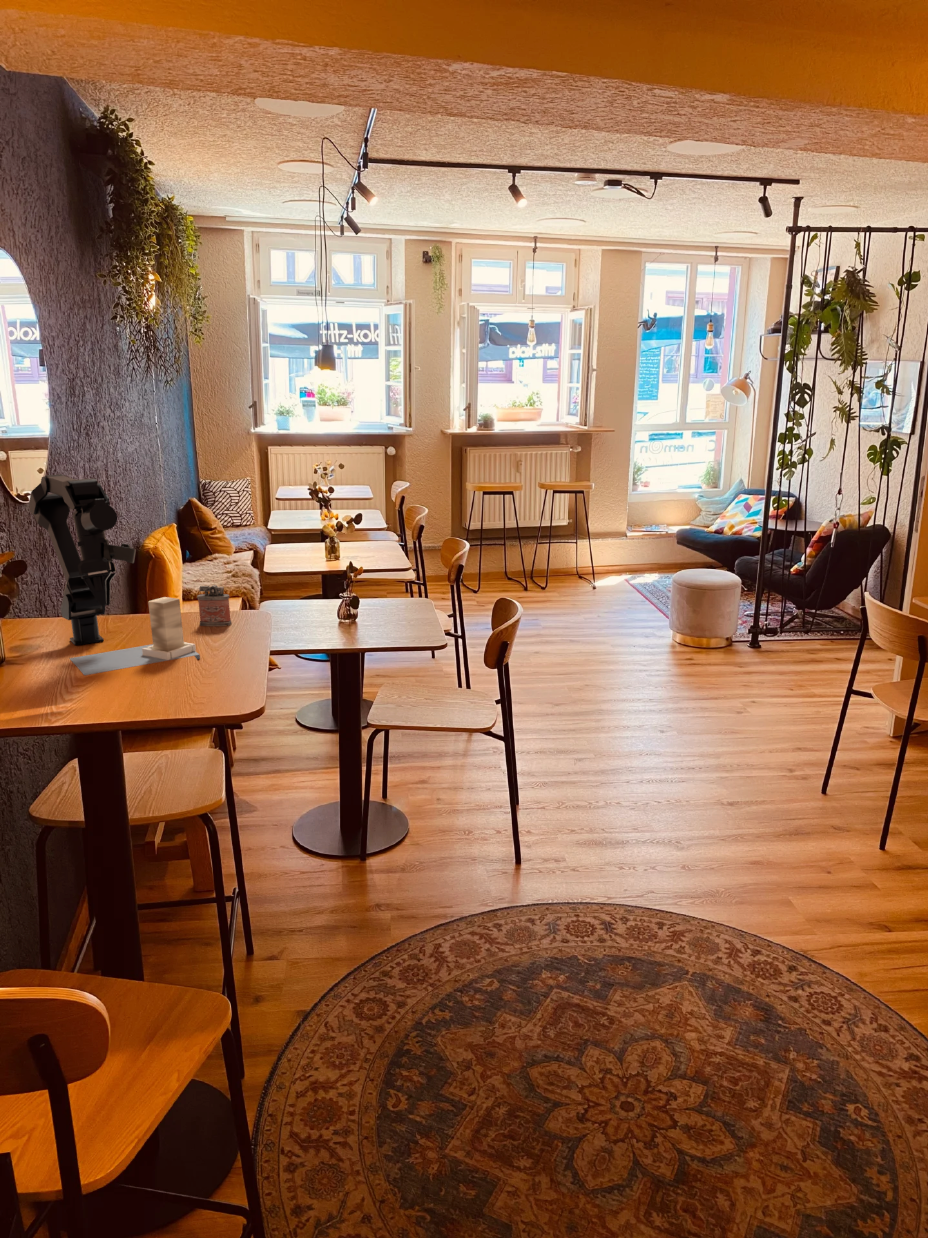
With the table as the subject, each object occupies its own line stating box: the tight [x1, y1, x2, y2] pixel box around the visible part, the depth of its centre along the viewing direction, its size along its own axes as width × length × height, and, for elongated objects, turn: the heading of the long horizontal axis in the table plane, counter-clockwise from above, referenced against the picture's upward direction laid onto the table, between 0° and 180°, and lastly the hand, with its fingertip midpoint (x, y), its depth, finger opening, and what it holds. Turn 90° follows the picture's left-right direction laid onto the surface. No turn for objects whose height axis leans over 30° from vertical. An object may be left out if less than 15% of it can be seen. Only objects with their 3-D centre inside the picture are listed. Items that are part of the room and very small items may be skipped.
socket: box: [142, 641, 197, 661], centre depth 200 cm, size 8×8×2 cm
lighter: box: [196, 584, 232, 627], centre depth 226 cm, size 8×3×10 cm, turn 84°
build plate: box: [69, 643, 201, 676], centre depth 198 cm, size 15×24×1 cm, turn 124°
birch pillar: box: [147, 596, 185, 652], centre depth 199 cm, size 5×5×12 cm
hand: (105, 605), depth 200 cm, fingers open, 9 cm apart
